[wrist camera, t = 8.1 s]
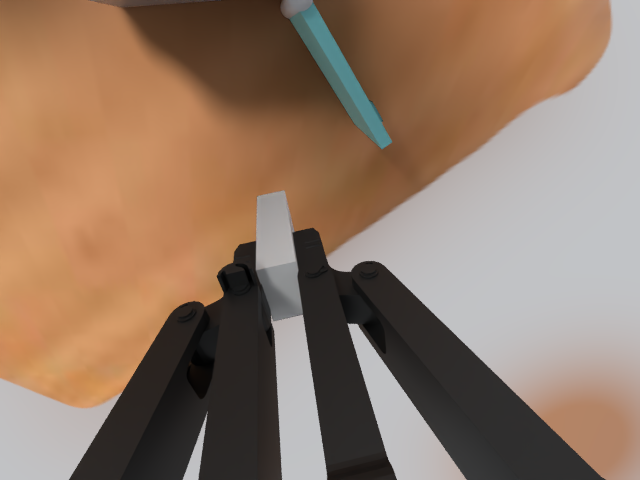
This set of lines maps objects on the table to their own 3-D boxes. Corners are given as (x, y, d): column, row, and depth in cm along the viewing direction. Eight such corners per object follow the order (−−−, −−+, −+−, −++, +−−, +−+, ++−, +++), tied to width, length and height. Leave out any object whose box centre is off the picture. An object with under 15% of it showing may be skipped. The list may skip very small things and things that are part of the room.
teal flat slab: (352, 125, 35) (380, 153, 27) (276, 5, 28) (283, -9, 20) (368, 113, 35) (402, 137, 26) (295, -12, 28) (310, -34, 20)
